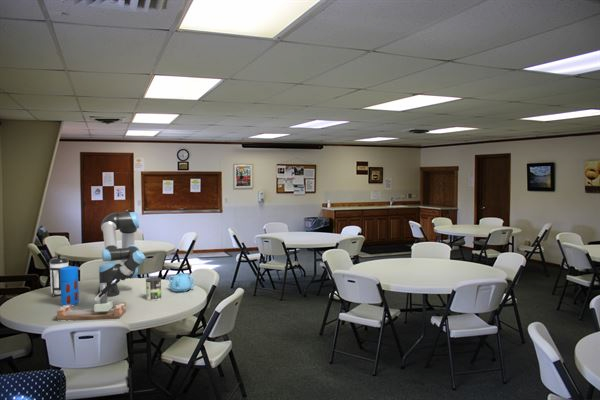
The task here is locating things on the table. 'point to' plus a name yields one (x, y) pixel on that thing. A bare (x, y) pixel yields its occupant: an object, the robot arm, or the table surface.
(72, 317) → the rail board
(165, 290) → the table surface
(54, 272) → the coffee press
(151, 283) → the coffee can
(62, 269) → the thermos
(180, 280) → the decorative pot
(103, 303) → the carriage
